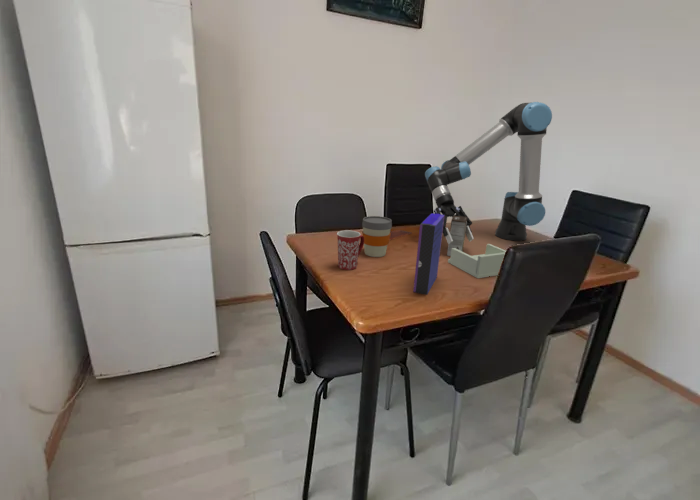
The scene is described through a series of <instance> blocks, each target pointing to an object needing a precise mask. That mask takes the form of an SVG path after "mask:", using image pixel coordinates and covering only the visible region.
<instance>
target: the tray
mask: <svg viewBox="0 0 700 500" xmlns="http://www.w3.org/2000/svg"><path fill="white" fill-rule="evenodd" d="M506 251H507V250H506V249H503V248H500V247H498V246H497V245H493V244H491V243H487V244H486V247H485V253H482V254H474V255H471V254H468V253H466V252H464V251H463V252H462V251H460V250H458V249H456V248H452V250H451V256H449V257H450V258H448V259H447V263H448V264H450V265H452V266H454V267H456V268H457V269H459V270H461V271H463V272H465V273H467V274H469V275H471V276H473V277H474V278H476V279H481V278H488V277H489V276H490V277H495V276H499V275H498V272H499V269H500V266H501V263H502V261H503V258H504V255H505V252H506ZM490 277H489V278H490Z"/></svg>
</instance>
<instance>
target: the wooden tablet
mask: <svg viewBox="0 0 700 500" xmlns="http://www.w3.org/2000/svg"><path fill="white" fill-rule="evenodd" d="M390 233H391V235H390V240H389V241H391V240H395V239H399V238H402V237H407V236H409V235H412V234H413V232H411V231H407V230H402V229H396V230H392V231H391V230H390Z"/></svg>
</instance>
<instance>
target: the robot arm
mask: <svg viewBox="0 0 700 500" xmlns="http://www.w3.org/2000/svg"><path fill="white" fill-rule="evenodd" d="M552 113H553V112H552V110H551V108H550V107H549V106H548V105H547V104H546V103H544V102H539V101H533V102H523V103H520V104H518V105H516V106H515V107H513V108H512V109H510V111H509V112H507V113H506V114H505V115H504V116H502V117H501V118H499V122H498V123H496V124H495V125H494V126H493V127H491V128H490V129H488V130H487V131H486V132H484V134H482V135H481V136H479V137H477V138H476V140H474V141H473V142H472V143H470V144H469V145H468V146H466V147H465V148H463V149H461V151H460V152H458V153H457V154H456V155H454V156H453V157H452V158H451V159H449V160H445V161H443V163H442V164H441V166H440V167H439V166H438V165H436V166H431V167H429V168H428V169H426V171H425V172H424V177H425V180H426V184H427V185H428V188H429V190H430V192H431V194H432V197H433V199H434V201H435V204H436V208H435V209H434V210H433V214H441V215H445V216H444V224H443V232H442V236H443V237H444V238H445V239H446V242H447V244H450V243H451V242H452V241H453V239H452V237H451V235H450V229H449V228H448V227H446V226H447V221H448V218H449V217H450V218H452V217H453V216H462V217H468V219H467V226H466V233H465V237H466V239H467V240H468V242H469V243H470V242H472V241H473V240H474V236H473V232H472V229H471V227H470V226H471V225H473V222H472V220H471V219H470V218H469V216H468V215H467V214H466V212H465V211H464V210H463V208H462V206H461V205H459V206H456V205H455V200H454V198H453V196H452V195H451V194H452V193H451V191H450V189H449V187H448V185H451V184H453V183H456V182H460V181H462V180H465V179H468V178H470V177H471V175H472V172H471V167H470V165H471V164H472V163H474V162H475V161H476V160H477V159H479V158H480V157H482V156H483V155H484V154H485V153H487V152H489V151H490V150H491V149H492V148H494V147H495V146H496V145H498V144H500V142H502V141H504V140H505V139H506V138H507V137H509V136H511V137H512V136H514V135H515V134H516V133H517V134H516V135H517V138H519V139H520V149H519V150H520V152H519V153H520V155H519V173H518V174H519V176H518V191H508V192H506V193H505V196H504V198H503V199H504V200H503V207H502V212H501V218H500V222H499V224H498V225H497V228H496V229H495V233H494V234H495V236H496V237H497V238H500V239H503V240H507V241H517V242H518V241H525V240H527V239H528V238H527V236H528V233H527V226H528V227H532V226H535V225H538V224H540V223H541V222H542V221H543V220H544V218H545V216H546V208H545V206H544V204H543V195H542V194H541V192H540V177H541V165H542V164H541V160H542V146H543V144H542V143H543V138H544V136H546V135H547V130H548V127H549V126H550V125H551V123H552V119H553V114H552Z"/></svg>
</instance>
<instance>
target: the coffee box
mask: <svg viewBox="0 0 700 500" xmlns="http://www.w3.org/2000/svg"><path fill="white" fill-rule="evenodd" d="M468 218H469V216H468V217H462V216H453V217H451V221H450V229H449V232H450V235H451V237H452V239H453V241H452V242H451V243H450V244H448V243H447V244H448V245H447V251H446V256H448V257H451V250H452V248H456V249H458V250H460V251H462V252H464V246H465V238H466V234H465V233H466V226H467V219H468Z"/></svg>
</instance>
